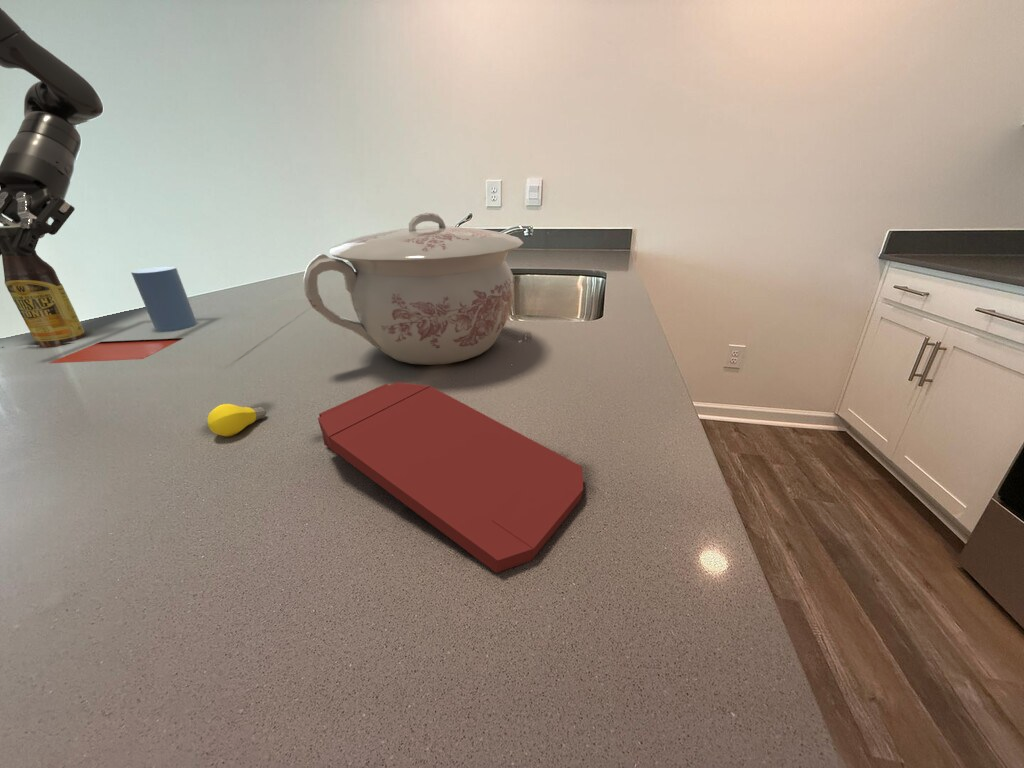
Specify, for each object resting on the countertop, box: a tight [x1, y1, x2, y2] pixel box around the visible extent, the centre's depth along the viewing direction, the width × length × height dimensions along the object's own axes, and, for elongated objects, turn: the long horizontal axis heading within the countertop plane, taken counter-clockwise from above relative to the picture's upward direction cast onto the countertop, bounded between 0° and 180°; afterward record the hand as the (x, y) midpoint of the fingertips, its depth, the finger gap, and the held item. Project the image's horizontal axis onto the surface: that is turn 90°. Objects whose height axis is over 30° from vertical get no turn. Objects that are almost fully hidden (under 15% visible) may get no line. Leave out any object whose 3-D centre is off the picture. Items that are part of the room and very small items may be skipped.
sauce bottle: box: [0, 225, 86, 348], centre depth 68 cm, size 7×6×20 cm
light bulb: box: [206, 403, 267, 437], centre depth 45 cm, size 3×6×4 cm, turn 156°
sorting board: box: [49, 337, 184, 364], centre depth 72 cm, size 14×20×1 cm
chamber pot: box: [302, 212, 524, 366], centre depth 62 cm, size 28×28×21 cm
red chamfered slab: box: [317, 381, 584, 574], centre depth 38 cm, size 12×5×25 cm
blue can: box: [130, 266, 198, 333], centre depth 75 cm, size 6×6×11 cm
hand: (5, 253), depth 64 cm, fingers closed on sauce bottle, 4 cm apart
